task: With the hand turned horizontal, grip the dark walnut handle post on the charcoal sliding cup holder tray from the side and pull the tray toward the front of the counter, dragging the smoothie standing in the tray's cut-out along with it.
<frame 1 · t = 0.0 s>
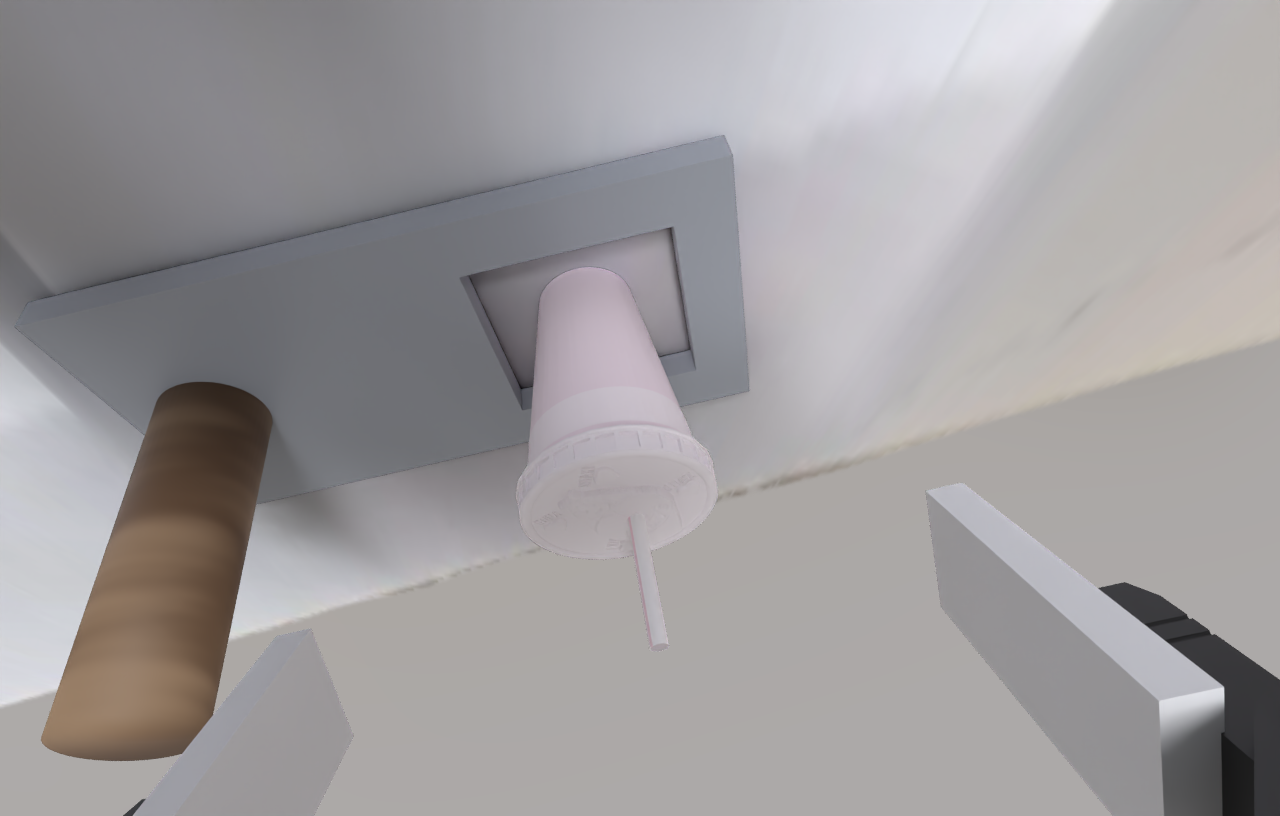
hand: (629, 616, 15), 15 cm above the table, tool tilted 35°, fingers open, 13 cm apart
cup holder tray: (436, 479, 25), point 7 cm above the table, slide at 0.0 cm
smoothie: (585, 300, 29), resting in cup holder tray
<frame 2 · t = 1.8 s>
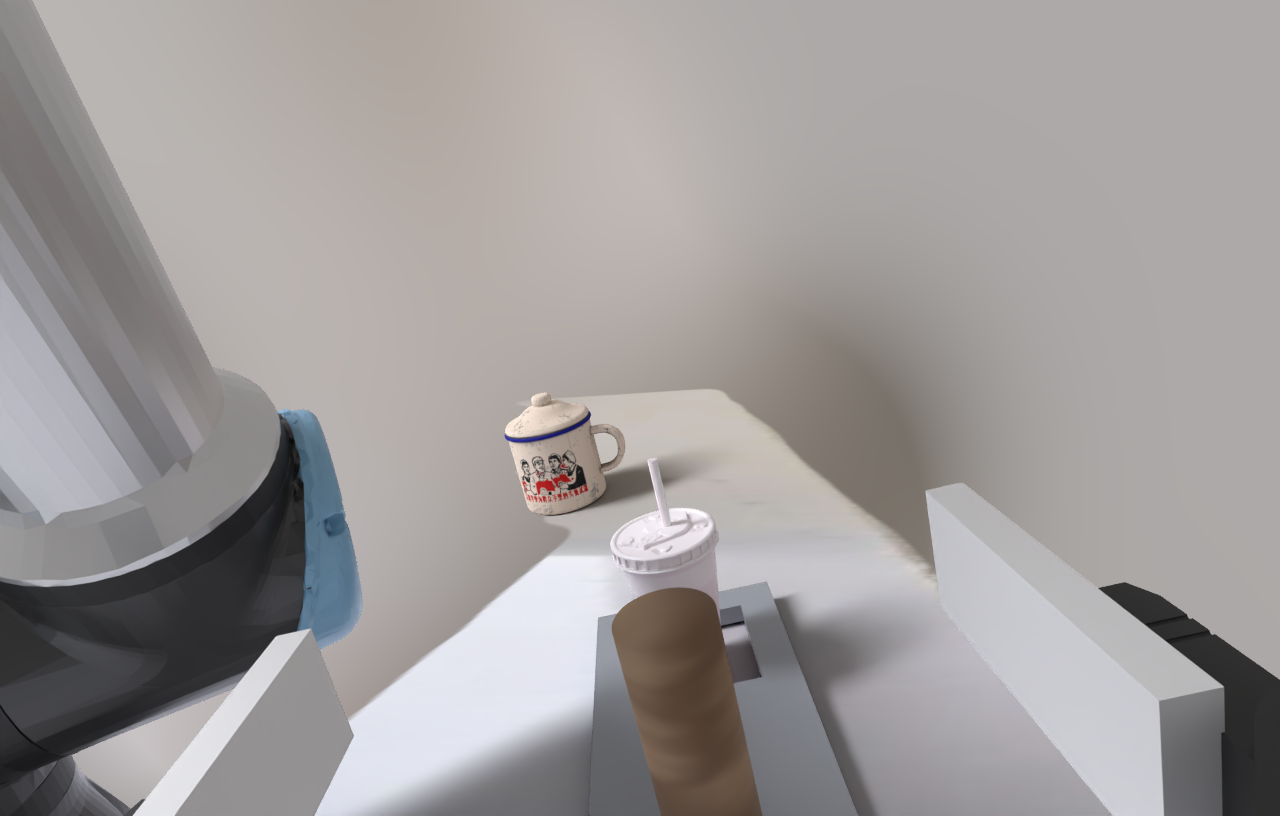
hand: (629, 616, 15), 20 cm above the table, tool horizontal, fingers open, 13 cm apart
cup holder tray: (680, 631, 37), point 7 cm above the table, slide at 0.0 cm
smoothie: (695, 672, 45), resting in cup holder tray
teacup with lid: (581, 497, 77), on the table
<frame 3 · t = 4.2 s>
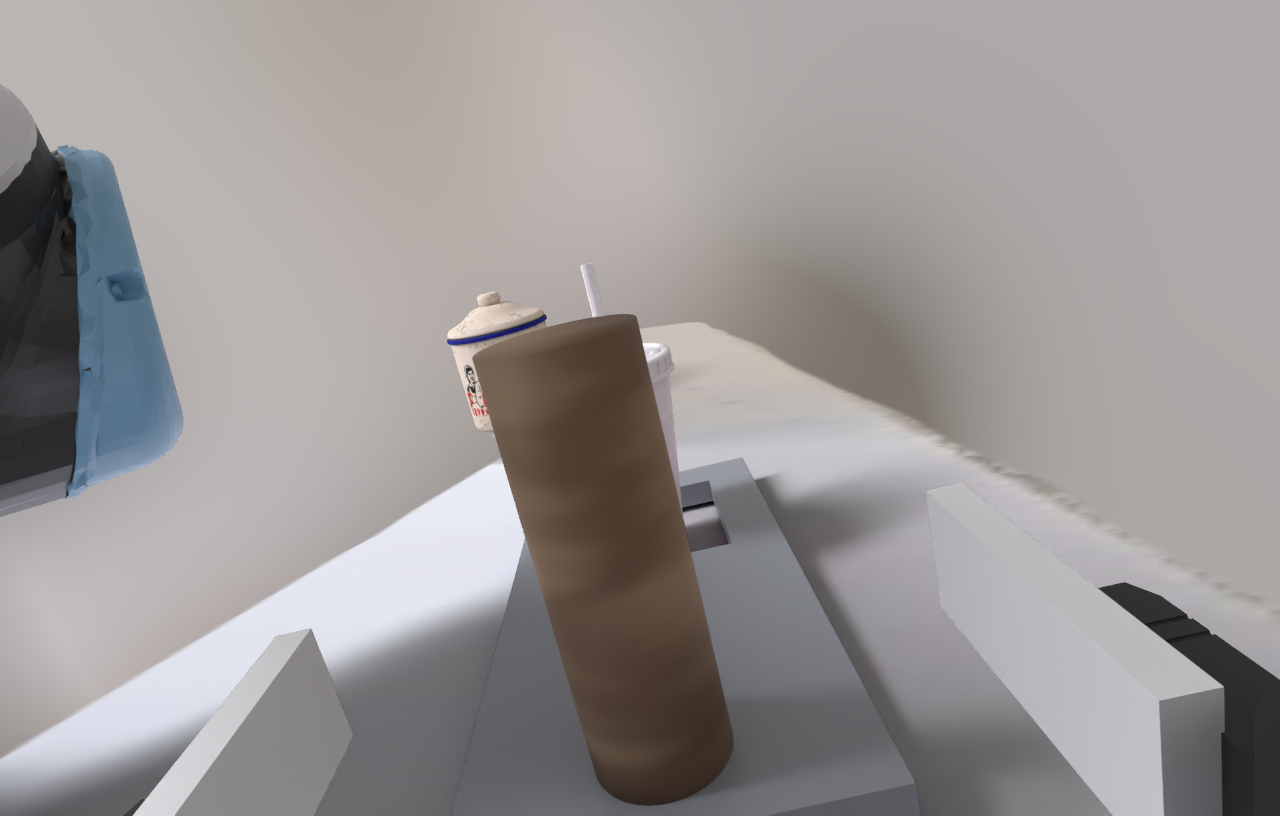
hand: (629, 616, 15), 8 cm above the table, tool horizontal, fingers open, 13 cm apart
cup holder tray: (616, 464, 28), point 7 cm above the table, slide at 0.0 cm
smoothie: (649, 555, 35), resting in cup holder tray
teacup with lid: (537, 415, 67), on the table
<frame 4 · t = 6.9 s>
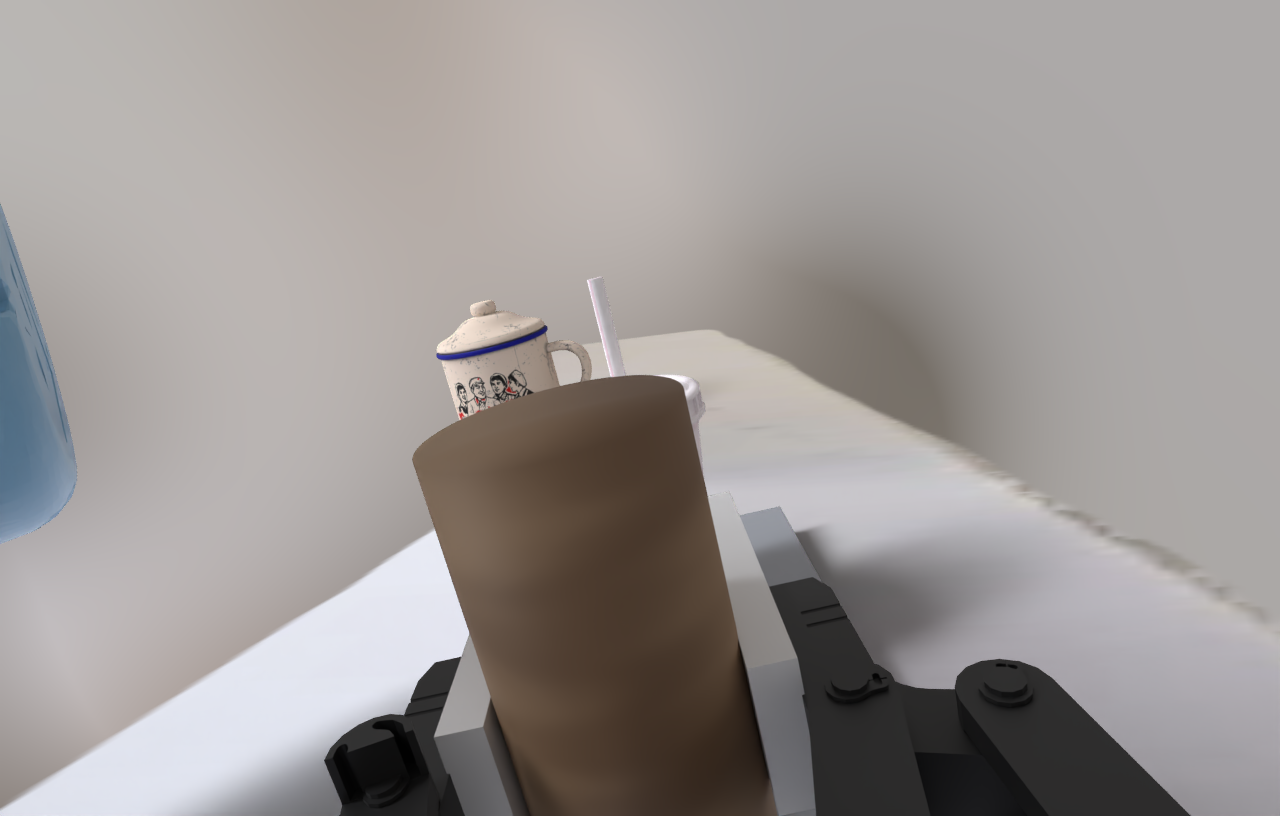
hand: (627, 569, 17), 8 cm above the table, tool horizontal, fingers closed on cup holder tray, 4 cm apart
cup holder tray: (635, 546, 21), point 7 cm above the table, slide at 0.0 cm, touching gripper
smoothie: (671, 636, 29), resting in cup holder tray
teacup with lid: (537, 437, 61), on the table
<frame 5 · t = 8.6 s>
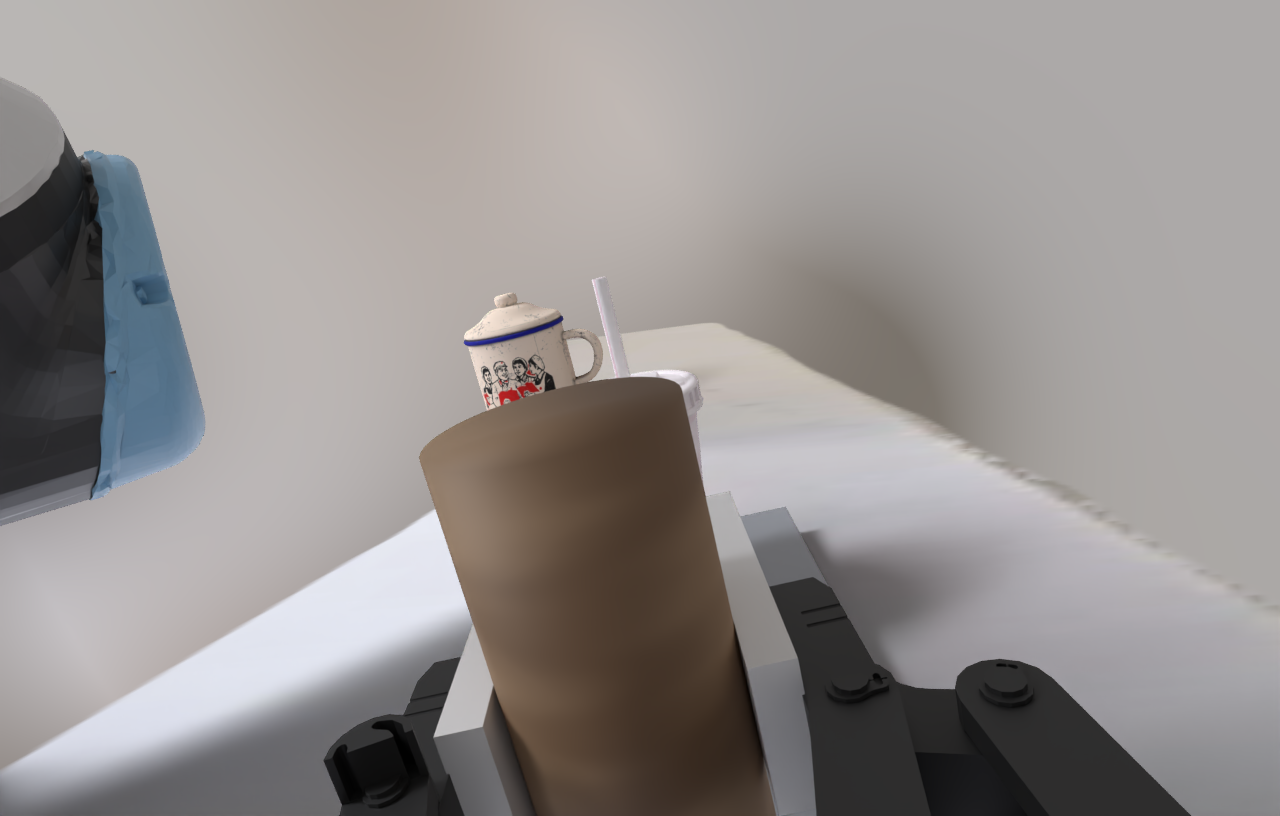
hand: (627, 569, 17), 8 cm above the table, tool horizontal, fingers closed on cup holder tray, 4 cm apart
cup holder tray: (639, 544, 21), point 7 cm above the table, slide at 6.4 cm, touching gripper, smoothie
smoothie: (671, 619, 30), resting in cup holder tray
teacup with lid: (553, 416, 67), on the table
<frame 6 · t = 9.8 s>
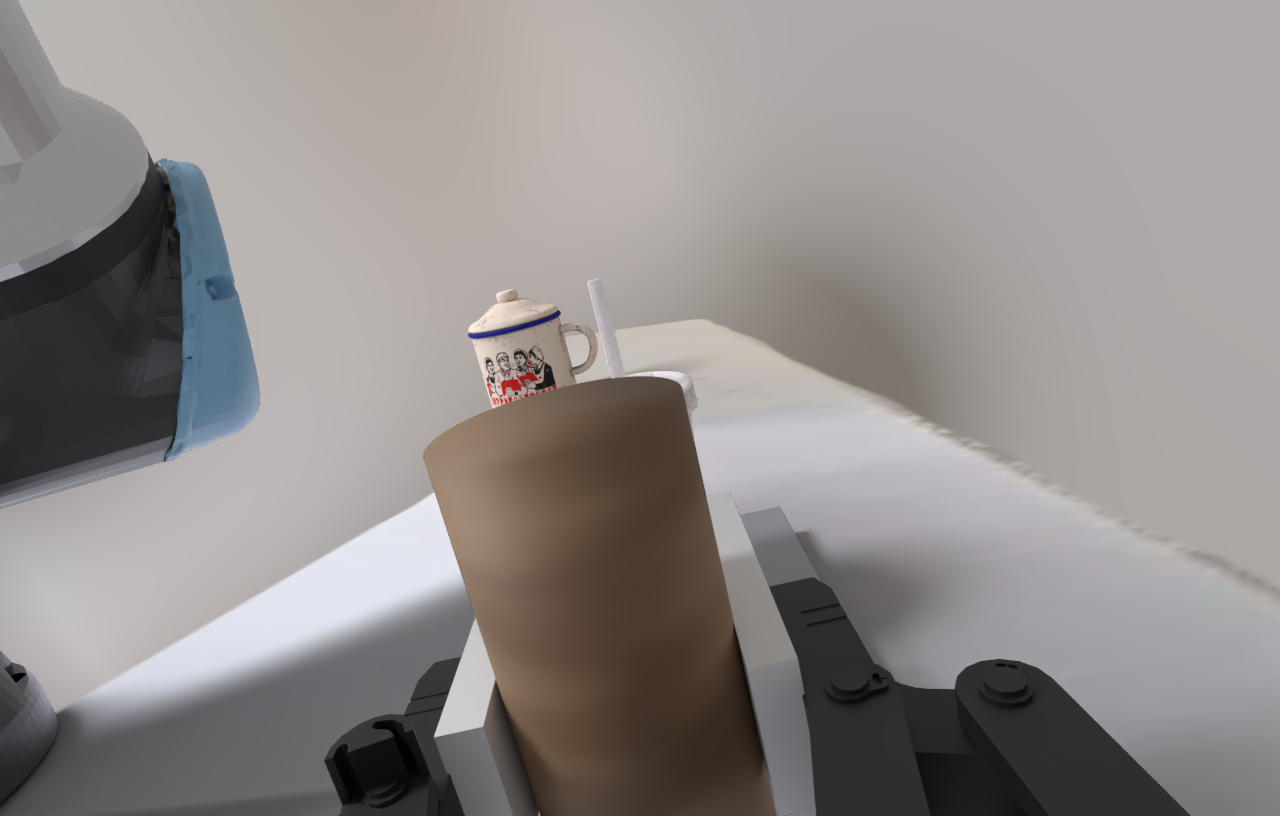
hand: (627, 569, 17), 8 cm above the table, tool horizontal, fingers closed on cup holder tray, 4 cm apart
cup holder tray: (636, 543, 21), point 7 cm above the table, slide at 11.3 cm, touching gripper, smoothie
smoothie: (666, 619, 30), resting in cup holder tray
teacup with lid: (551, 404, 72), on the table
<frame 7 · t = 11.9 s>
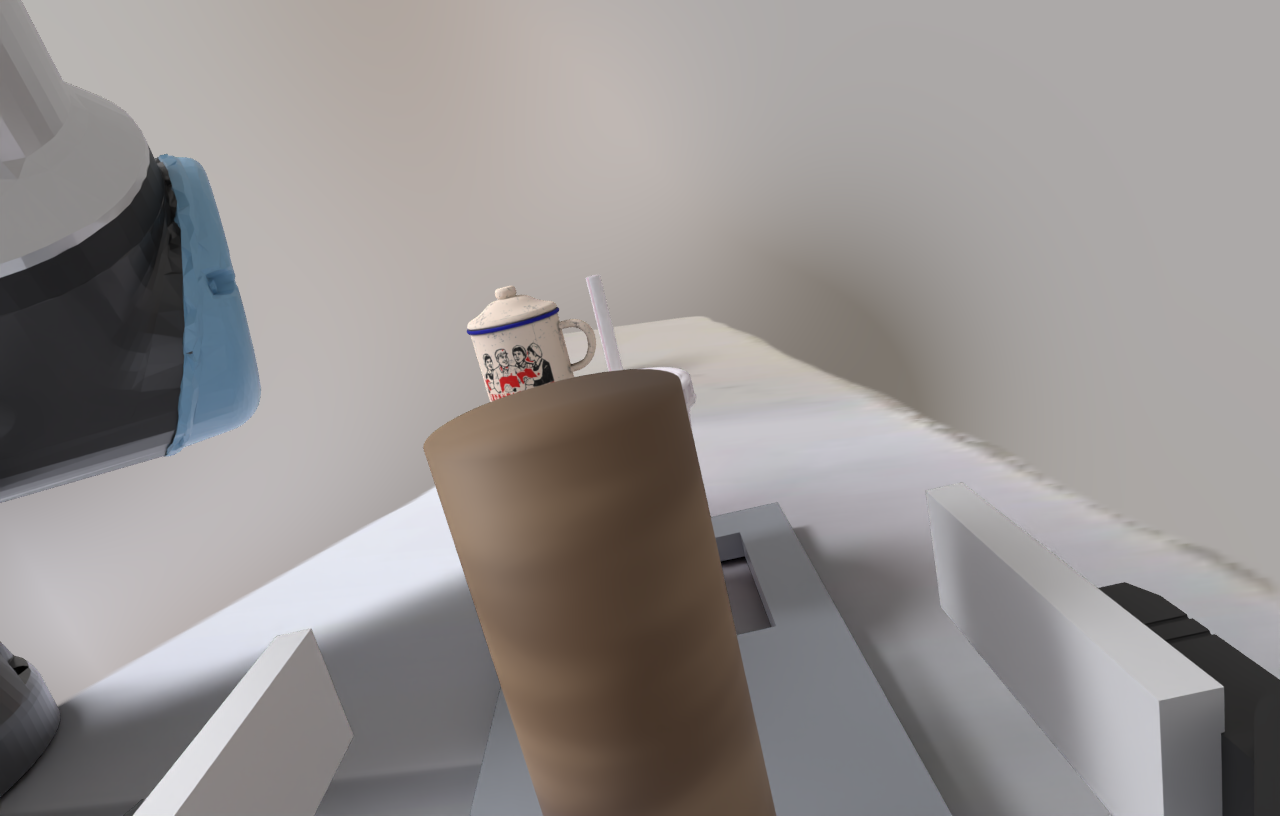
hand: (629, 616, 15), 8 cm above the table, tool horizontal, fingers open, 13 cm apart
cup holder tray: (635, 538, 22), point 7 cm above the table, slide at 11.5 cm
smoothie: (664, 614, 30), resting in cup holder tray
teacup with lid: (550, 401, 72), on the table
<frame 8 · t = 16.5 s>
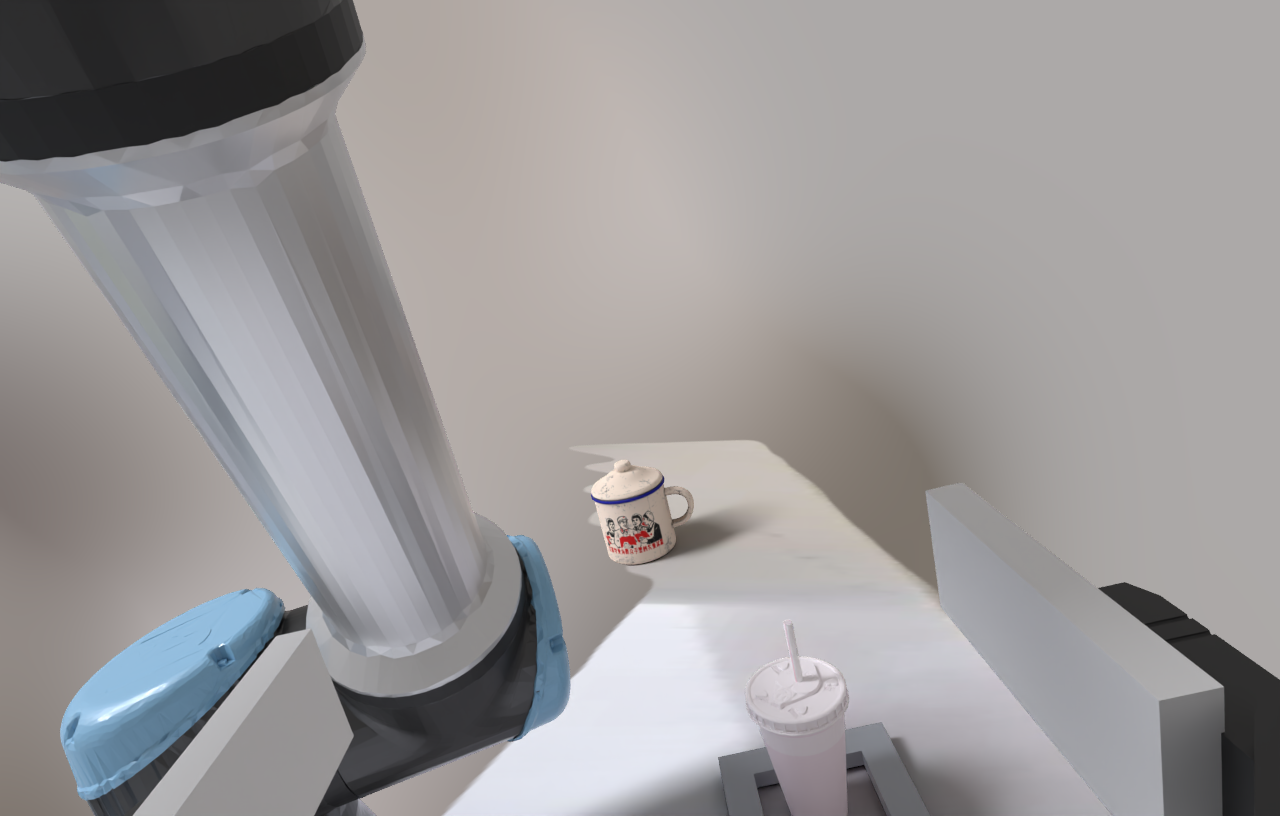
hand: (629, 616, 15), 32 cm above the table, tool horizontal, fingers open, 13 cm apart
cup holder tray: (837, 814, 39), point 7 cm above the table, slide at 11.5 cm
smoothie: (819, 812, 48), resting in cup holder tray
teacup with lid: (654, 547, 90), on the table
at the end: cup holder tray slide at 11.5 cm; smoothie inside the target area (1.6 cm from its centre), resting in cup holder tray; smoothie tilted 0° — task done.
